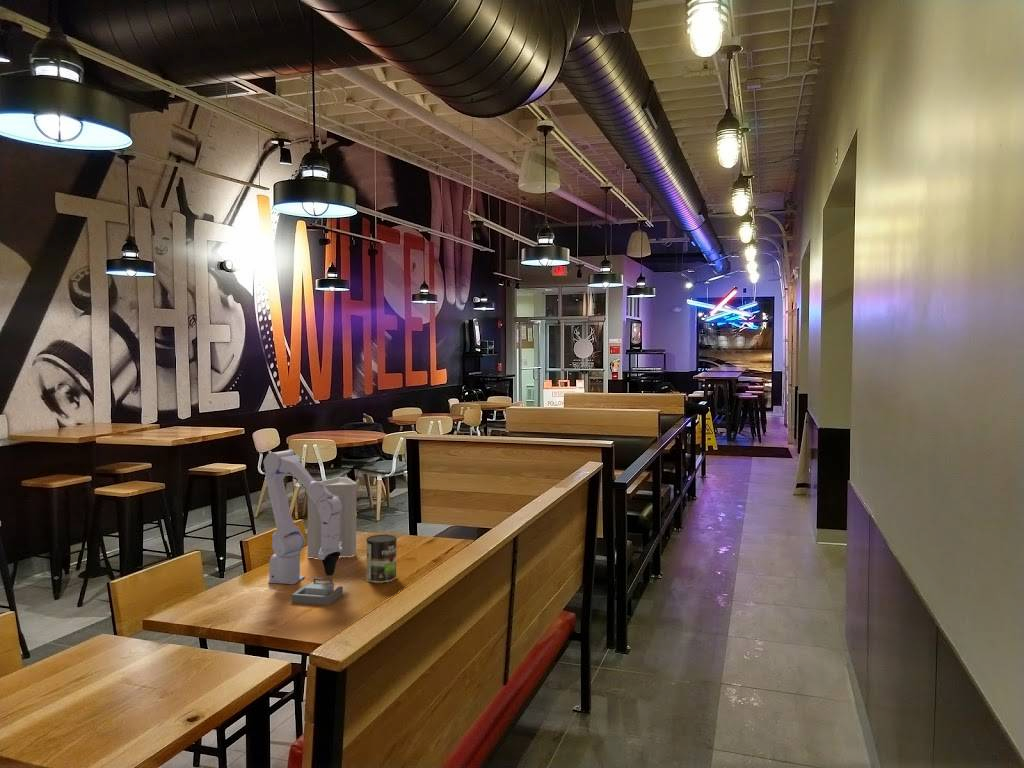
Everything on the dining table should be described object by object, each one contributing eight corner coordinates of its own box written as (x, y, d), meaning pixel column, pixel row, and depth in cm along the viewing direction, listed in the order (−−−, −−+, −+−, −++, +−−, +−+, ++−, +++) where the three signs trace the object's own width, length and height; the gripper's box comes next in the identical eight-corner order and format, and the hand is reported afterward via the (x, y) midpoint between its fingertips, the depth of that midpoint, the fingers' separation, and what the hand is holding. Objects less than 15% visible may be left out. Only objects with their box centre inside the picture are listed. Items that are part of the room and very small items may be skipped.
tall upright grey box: (338, 563, 254) (338, 487, 253) (306, 558, 261) (306, 484, 260) (369, 550, 272) (369, 480, 271) (338, 545, 278) (339, 476, 277)
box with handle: (304, 599, 216) (304, 583, 216) (312, 593, 222) (312, 577, 222) (325, 601, 215) (326, 584, 215) (333, 594, 221) (333, 578, 221)
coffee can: (402, 578, 239) (403, 537, 238) (380, 585, 230) (380, 543, 230) (382, 572, 245) (382, 532, 244) (359, 579, 237) (360, 538, 236)
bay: (291, 602, 213) (291, 594, 213) (306, 591, 223) (306, 584, 223) (329, 605, 211) (329, 597, 211) (342, 594, 221) (342, 586, 221)
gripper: (332, 540, 218) (332, 583, 219) (350, 529, 233) (349, 569, 233) (311, 539, 219) (311, 581, 220) (330, 528, 234) (330, 567, 234)
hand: (329, 575), depth 227 cm, fingers closed
